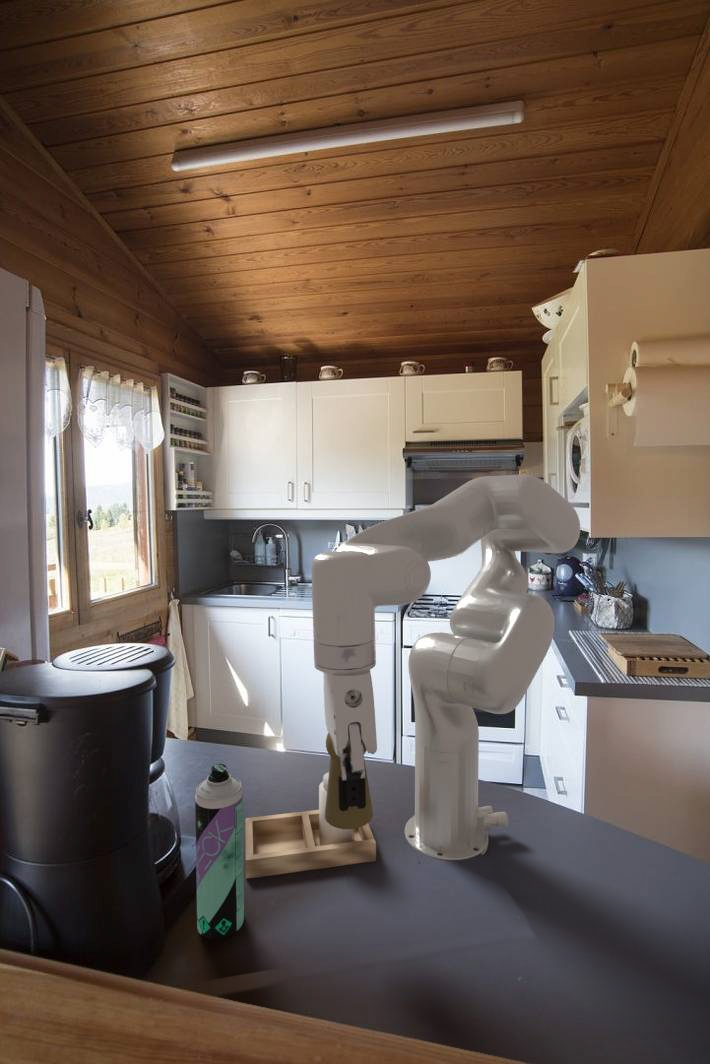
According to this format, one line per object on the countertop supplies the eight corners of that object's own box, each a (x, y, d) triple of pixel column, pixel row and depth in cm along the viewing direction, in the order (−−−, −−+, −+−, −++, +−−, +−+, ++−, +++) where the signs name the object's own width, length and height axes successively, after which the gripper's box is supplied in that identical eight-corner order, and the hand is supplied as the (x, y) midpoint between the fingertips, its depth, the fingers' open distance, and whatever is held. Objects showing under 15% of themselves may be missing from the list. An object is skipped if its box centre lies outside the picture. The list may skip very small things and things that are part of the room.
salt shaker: (350, 830, 83) (350, 767, 83) (357, 851, 78) (357, 784, 77) (317, 834, 82) (316, 770, 82) (322, 856, 77) (321, 787, 76)
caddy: (360, 826, 86) (360, 804, 86) (376, 867, 76) (375, 843, 76) (245, 840, 82) (245, 818, 82) (246, 885, 72) (245, 860, 72)
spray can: (205, 911, 68) (203, 755, 67) (248, 912, 68) (246, 756, 67) (190, 946, 62) (188, 777, 61) (237, 948, 62) (235, 778, 61)
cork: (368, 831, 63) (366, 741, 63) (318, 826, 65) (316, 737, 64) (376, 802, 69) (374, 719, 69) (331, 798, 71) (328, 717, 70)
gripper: (393, 671, 58) (396, 834, 59) (360, 633, 75) (363, 761, 76) (324, 678, 57) (329, 844, 58) (306, 637, 73) (310, 768, 74)
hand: (348, 796), depth 67 cm, fingers closed on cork, 4 cm apart
